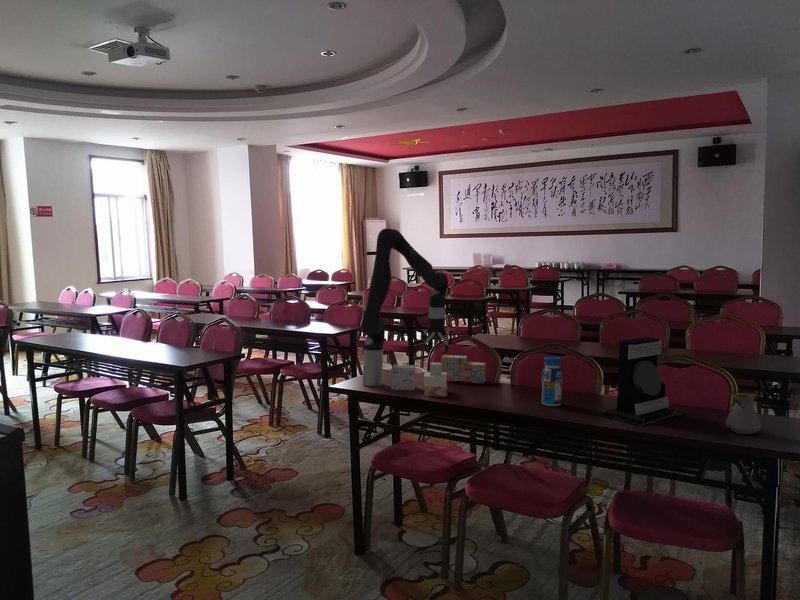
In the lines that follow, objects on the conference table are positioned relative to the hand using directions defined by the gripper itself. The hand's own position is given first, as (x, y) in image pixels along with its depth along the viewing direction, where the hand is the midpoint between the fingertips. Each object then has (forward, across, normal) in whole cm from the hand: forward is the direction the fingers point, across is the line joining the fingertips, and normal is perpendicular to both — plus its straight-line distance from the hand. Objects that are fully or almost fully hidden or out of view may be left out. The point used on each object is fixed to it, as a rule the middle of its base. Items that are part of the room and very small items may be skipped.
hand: (436, 352), depth 271 cm
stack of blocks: (+19, +14, +27) cm, 36 cm away
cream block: (+14, 0, 0) cm, 14 cm away
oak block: (+19, 0, 0) cm, 19 cm away
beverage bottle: (+18, +49, -15) cm, 55 cm away
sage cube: (+10, 0, 0) cm, 10 cm away
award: (+18, +82, -29) cm, 89 cm away
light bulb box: (+19, -15, +8) cm, 25 cm away
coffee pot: (+17, +108, -53) cm, 122 cm away
